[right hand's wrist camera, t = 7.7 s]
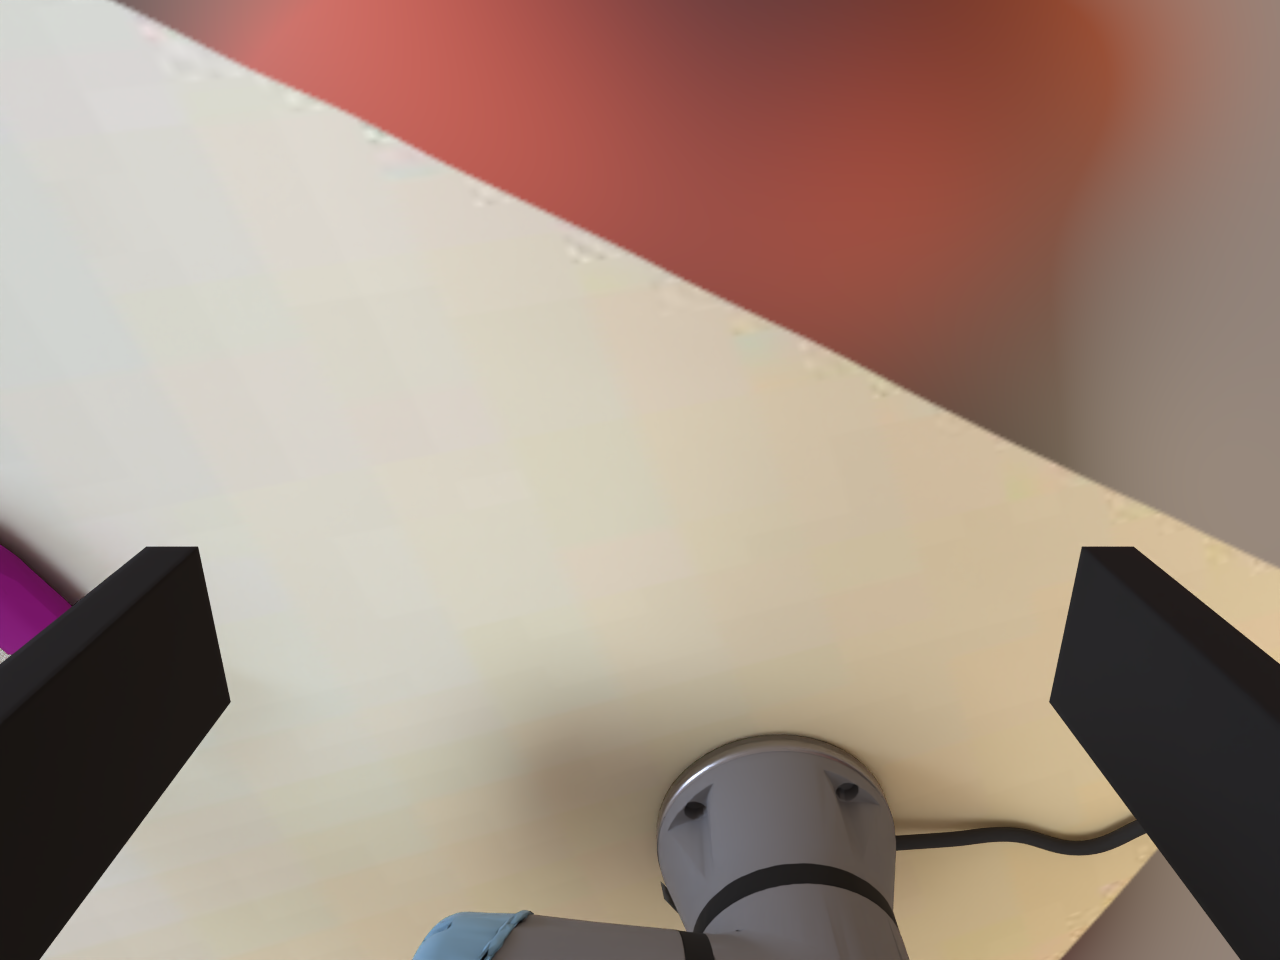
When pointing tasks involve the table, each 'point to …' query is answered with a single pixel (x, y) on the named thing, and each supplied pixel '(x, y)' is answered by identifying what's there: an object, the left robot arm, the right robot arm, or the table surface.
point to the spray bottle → (24, 603)
